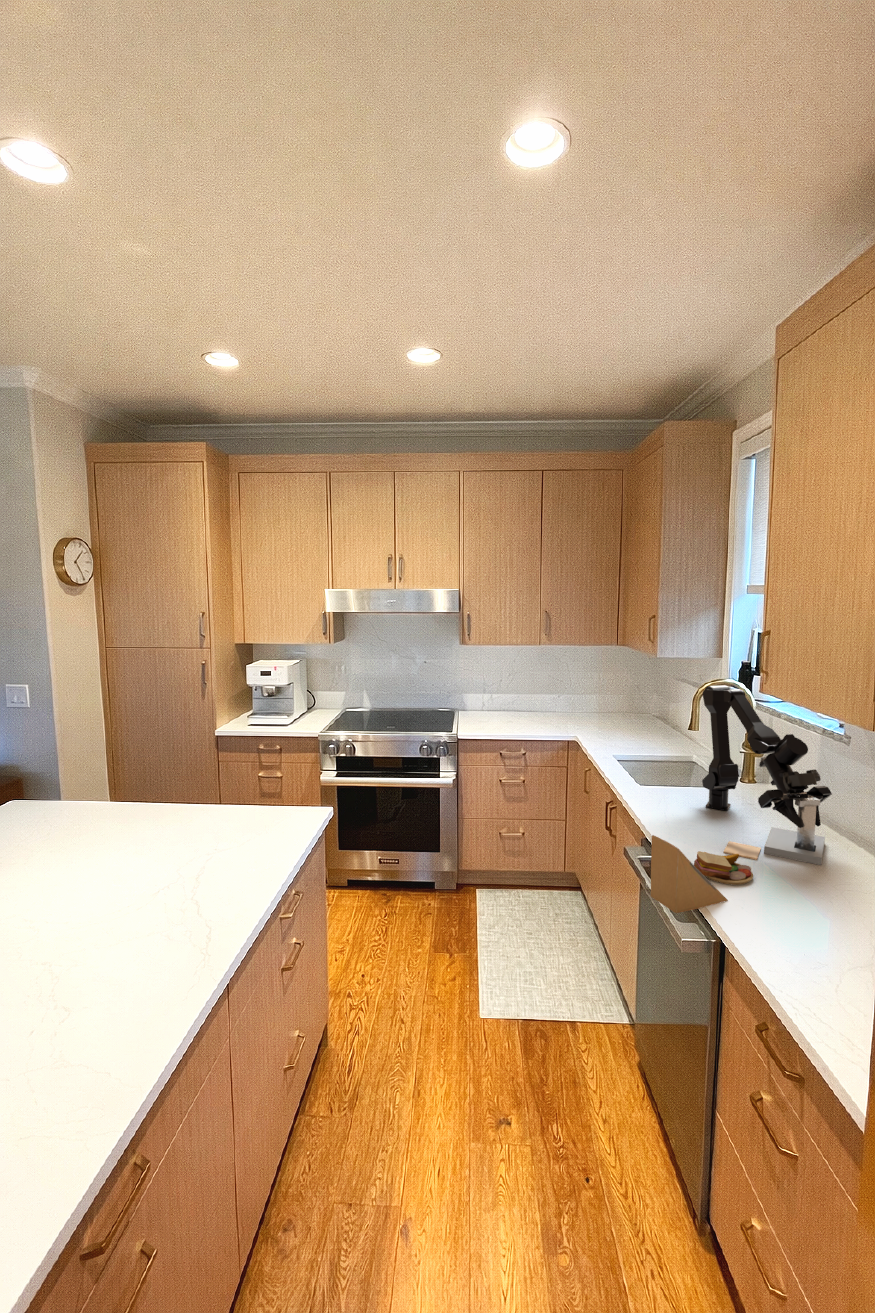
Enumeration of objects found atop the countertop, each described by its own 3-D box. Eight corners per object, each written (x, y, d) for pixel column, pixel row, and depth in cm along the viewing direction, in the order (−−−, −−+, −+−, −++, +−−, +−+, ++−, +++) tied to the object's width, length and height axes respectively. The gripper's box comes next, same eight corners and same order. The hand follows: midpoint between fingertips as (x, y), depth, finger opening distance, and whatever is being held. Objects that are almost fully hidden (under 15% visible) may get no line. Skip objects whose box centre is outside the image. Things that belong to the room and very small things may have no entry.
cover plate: (771, 833, 176) (771, 827, 176) (824, 843, 168) (824, 836, 168) (763, 853, 163) (764, 846, 163) (821, 865, 155) (821, 857, 155)
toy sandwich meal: (757, 890, 144) (758, 871, 143) (696, 882, 148) (696, 864, 147) (748, 867, 155) (749, 849, 155) (691, 861, 159) (691, 843, 159)
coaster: (728, 842, 170) (728, 841, 170) (761, 849, 165) (761, 847, 165) (723, 852, 163) (723, 851, 163) (756, 859, 159) (756, 858, 159)
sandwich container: (730, 901, 138) (732, 838, 137) (676, 914, 133) (678, 848, 131) (701, 884, 146) (703, 824, 145) (649, 896, 141) (651, 834, 139)
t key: (789, 851, 164) (792, 797, 162) (808, 850, 165) (811, 796, 163) (800, 858, 160) (803, 802, 158) (820, 856, 161) (823, 801, 159)
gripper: (767, 761, 162) (796, 816, 152) (828, 757, 165) (860, 810, 155) (746, 781, 170) (772, 834, 161) (804, 776, 174) (834, 828, 164)
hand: (810, 826), depth 160 cm, fingers closed on t key, 5 cm apart
